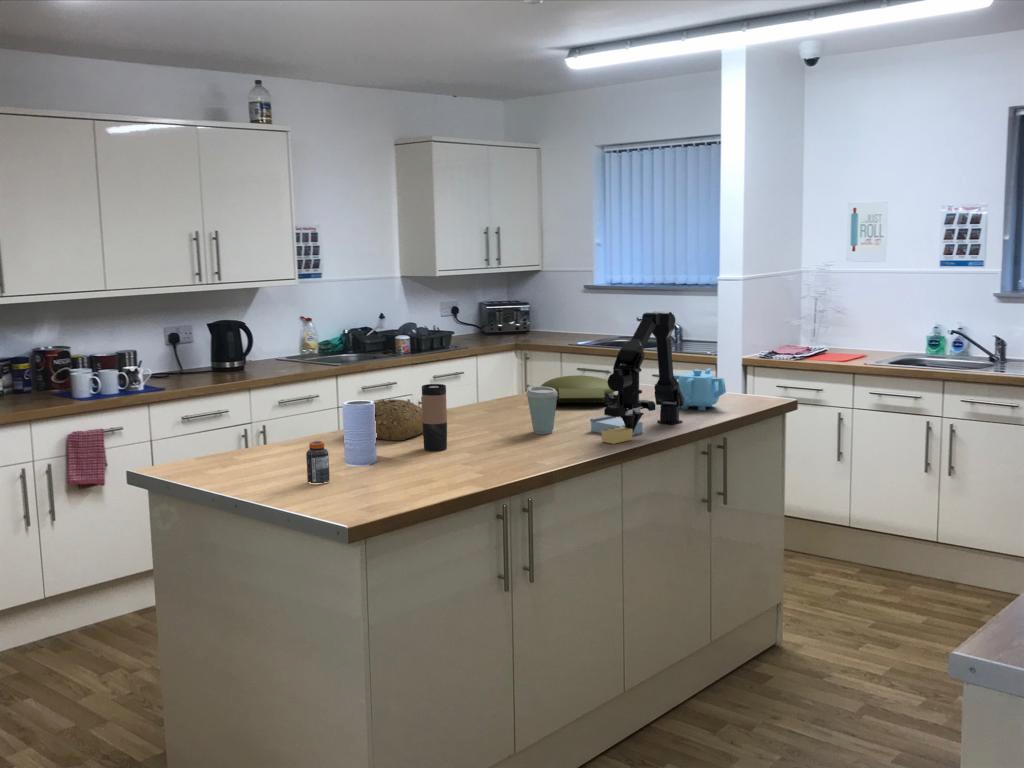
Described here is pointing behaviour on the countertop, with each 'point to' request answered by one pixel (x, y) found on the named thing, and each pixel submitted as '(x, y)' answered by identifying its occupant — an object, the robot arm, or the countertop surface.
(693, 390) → the teapot
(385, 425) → the bread
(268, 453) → the countertop surface
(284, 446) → the countertop surface
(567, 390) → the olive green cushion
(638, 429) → the ticket
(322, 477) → the pill bottle
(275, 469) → the countertop surface
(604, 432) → the stub
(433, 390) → the travel mug
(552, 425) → the disposable coffee cup
